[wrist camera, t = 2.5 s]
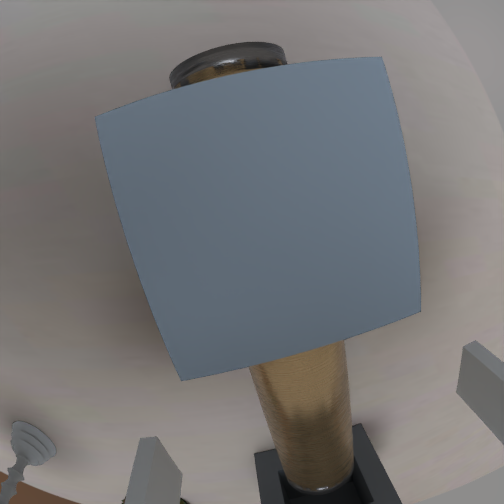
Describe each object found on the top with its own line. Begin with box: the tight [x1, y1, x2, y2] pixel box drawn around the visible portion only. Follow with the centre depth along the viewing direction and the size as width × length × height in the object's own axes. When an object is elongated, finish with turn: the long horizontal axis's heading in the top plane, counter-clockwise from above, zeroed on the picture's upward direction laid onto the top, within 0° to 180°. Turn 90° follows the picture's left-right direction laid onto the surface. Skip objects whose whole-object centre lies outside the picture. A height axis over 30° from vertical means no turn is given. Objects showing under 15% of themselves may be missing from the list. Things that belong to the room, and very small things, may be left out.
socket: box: [254, 424, 402, 504], centre depth 18 cm, size 6×9×10 cm
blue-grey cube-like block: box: [95, 57, 421, 381], centre depth 12 cm, size 8×8×9 cm
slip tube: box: [169, 42, 354, 495], centre depth 13 cm, size 22×4×4 cm, turn 14°
